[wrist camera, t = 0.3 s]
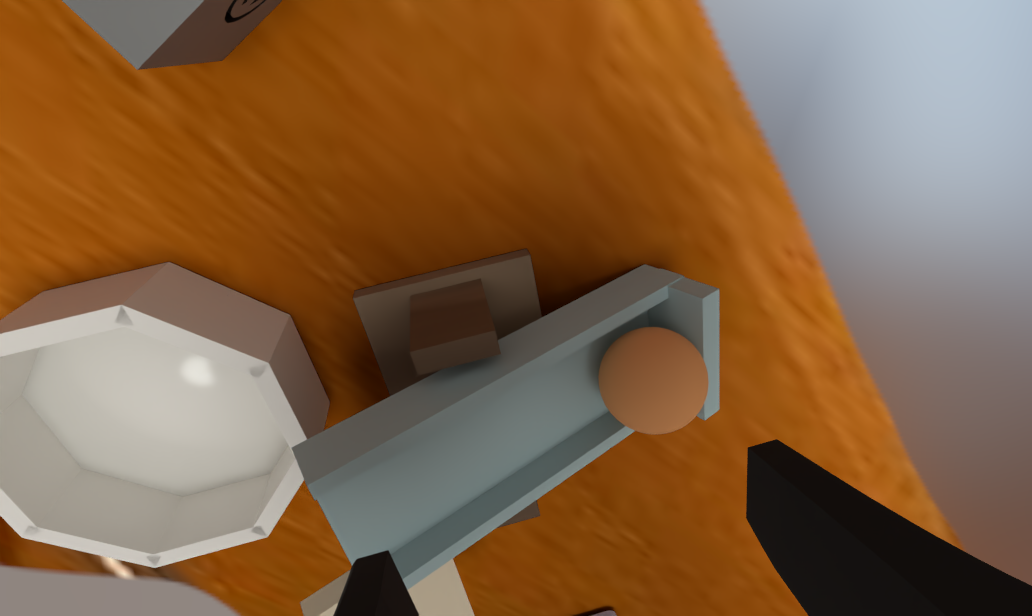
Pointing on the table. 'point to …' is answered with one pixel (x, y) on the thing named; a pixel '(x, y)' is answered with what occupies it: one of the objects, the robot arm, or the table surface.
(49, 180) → the table surface
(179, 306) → the bowl
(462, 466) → the lever
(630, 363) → the ball
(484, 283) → the stand
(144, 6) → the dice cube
